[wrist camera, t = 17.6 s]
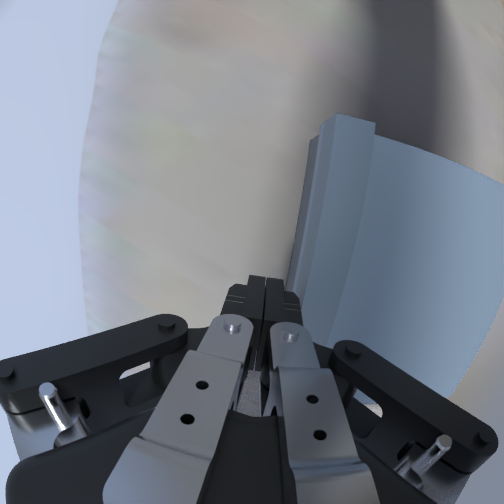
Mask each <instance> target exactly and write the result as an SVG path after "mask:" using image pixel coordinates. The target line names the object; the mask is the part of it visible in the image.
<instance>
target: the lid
mask: <svg viewBox="0 0 504 504" xmlns="http://www.w3.org/2000/svg"><path fill="white" fill-rule="evenodd" d="M375 127H376V123H374V122H370V121H367V120H363V119H359V118H355V117H351V116H347V115H343V114H338V113H336V114H335V115H333V116H332V117H331V118H330V119H328V120H327V121H326V122H324V123H323V124H322V125H321V126H320V134H319V141H318V148H317V155H316V162H315V169H314V175H313V182H312V188H311V194H310V200H309V206H308V212H307V218H306V224H305V229H304V235H303V240H302V245H301V251H300V256H299V261H298V266H297V271H296V276H295V281H294V286H293V291H292V292H294V293H295V294H296V295H297V296H298V297H299V300H300V307H301V313H302V319H303V326H304V327H305V328H306V329H307V330H308V331H309V332H310V335H311V338H312V341H313V342H315V343H317V344H319V345H322V346H325V347H328V348H332V349H333V347H334V345H335V343H337V342H338V341H341V340H353V341H357V342H360V343H362V344H363V345H365V346H367V347H368V348H370V349H371V350H373V351H374V352H376V353H377V354H379V355H380V356H382V357H383V358H385V359H386V360H388V361H389V362H391V363H392V364H394V365H395V366H397V367H398V368H400V369H401V370H403V371H404V372H406V373H407V374H409V375H411V376H412V377H414V378H415V379H417V380H418V381H420V382H421V383H423V384H424V385H426V386H427V387H429V388H431V389H432V390H434V391H435V392H437V393H438V394H440V395H441V396H443V397H450V396H451V395H452V393H453V392H454V390H455V388H456V387H457V385H458V384H459V382H460V381H461V379H462V378H463V376H464V375H465V373H466V371H467V370H468V368H469V366H470V364H471V363H472V361H473V359H474V357H475V355H476V354H477V352H478V350H479V348H480V346H481V345H482V343H483V341H484V339H485V337H486V335H487V333H488V330H489V329H490V326H491V324H492V322H493V320H494V318H495V315H496V313H497V311H498V308H499V306H500V304H501V301H502V298H503V296H504V185H503V184H501V183H499V182H497V181H495V180H493V179H491V178H489V177H487V176H485V175H483V174H481V173H479V172H477V171H474V170H472V169H470V168H468V167H466V166H463V165H461V164H459V163H456V162H454V161H451V160H449V159H446V158H444V157H441V156H439V155H436V154H433V153H431V152H428V151H425V150H422V149H419V148H417V147H414V146H411V145H408V144H404V143H401V142H398V141H395V140H392V139H388V138H385V137H381V136H378V135H375ZM354 398H355V399H357V400H358V401H359V402H361V403H362V404H377V403H376V402H375V401H373V400H372V399H371V398H369V397H368V396H367V395H365V394H364V393H363V392H361V391H360V390H359V389H357V391H356V393H355V395H354Z"/></svg>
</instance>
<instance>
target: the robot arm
mask: <svg viewBox="0 0 504 504" xmlns="http://www.w3.org/2000/svg"><path fill="white" fill-rule="evenodd" d="M265 280H266V277H261V276H254V275H249V279H248V284H247V285H242V284H235V285H233V286H232V287H230V288H229V291H228V293H227V296H226V300H225V302H224V305H223V308H222V311H221V314H220V315H219V316H217V317H215V318H214V319H213V321H212V322H211V324H210V326H209V327H206V328H188V325H187V322H186V321H185V320H184V319H183V318H181V317H179V316H176V315H172V314H160V315H155V316H152V317H149V318H146V319H143V320H140V321H136V322H133V323H130V324H127V325H124V326H120V327H117V328H114V329H111V330H107V331H104V332H101V333H97V334H94V335H91V336H87V337H84V338H80V339H77V340H74V341H70V342H67V343H63V344H60V345H56V346H52V347H49V348H45V349H42V350H38V351H34V352H30V353H27V354H23V355H19V356H16V357H11V358H8V359H4V360H1V361H0V404H1V406H2V408H3V409H4V411H5V412H6V414H7V417H8V421H9V425H10V429H11V433H12V436H13V440H14V443H15V446H16V449H17V453H18V455H19V458H20V462H19V463H18V464H17V465H16V466H15V467H14V468H13V469H12V471H11V472H10V474H9V476H8V479H7V483H6V504H455V502H456V500H457V499H458V497H459V495H460V493H461V492H462V490H463V488H464V486H465V484H466V482H467V481H468V479H469V477H470V475H471V474H472V473H473V472H474V471H475V470H477V469H478V468H479V467H480V466H481V465H482V464H483V463H484V462H485V461H486V460H488V459H489V458H490V457H491V456H492V455H493V454H494V453H495V452H496V450H497V448H498V437H497V435H496V433H495V431H494V430H493V429H492V428H491V427H490V426H489V425H487V424H485V423H484V422H482V421H481V420H479V419H477V418H476V417H474V416H472V415H471V414H470V413H468V412H466V411H465V410H463V409H462V408H460V407H459V406H457V405H455V404H454V403H452V402H450V401H449V400H447V399H446V398H444V397H443V396H441V395H440V394H438V393H437V392H435V391H434V390H432V389H431V388H429V387H427V386H426V385H424V384H423V383H421V382H420V381H418V380H417V379H415V378H414V377H412V376H411V375H409V374H407V373H406V372H404V371H403V370H401V369H400V368H398V367H397V366H395V365H394V364H392V363H391V362H389V361H388V360H386V359H385V358H383V357H382V356H380V355H379V354H377V353H376V352H374V351H373V350H371V349H370V348H368V347H367V346H365V345H363V344H362V343H360V342H357V341H353V340H341V341H338V342H337V343H335V345H334V347H333V349H332V348H328V347H325V346H322V345H319V344H317V343H315V342H313V341H312V338H311V335H310V332H309V331H308V330H307V329H306V328H305V327H304V326H303V319H302V313H301V307H300V300H299V297H298V296H297V295H296V294H295V293H294V292H290V291H284V283H283V280H282V279H275V278H268V277H267V280H266V285H265ZM256 351H257V353H256ZM255 357H256V363H255V371H261V375H260V381H259V385H258V403H259V417H251V416H248V415H245V414H242V413H239V412H237V409H238V405H239V402H240V398H241V394H242V390H243V387H244V381H245V379H246V378H247V375H248V370H253V367H254V362H255ZM149 361H150V368H148V369H145V370H143V371H140V372H138V373H135V374H133V375H130V376H128V377H125V378H122V379H120V380H119V378H120V376H121V375H122V373H123V372H125V371H126V370H129V369H131V368H134V367H136V366H139V365H142V364H144V363H147V362H149ZM357 389H359V390H360V391H361V392H363V393H364V394H365V395H367V396H368V397H369V398H371V399H372V400H373V401H375V402H376V403H377V404H378V405H379V406H380V407H381V409H382V411H383V415H382V417H379V416H378V415H376V414H375V413H374V412H372V411H371V410H370V409H368V408H367V407H366V406H364V405H363V404H362V403H361V402H359V401H358V400H357V399H355V398H354V395H355V393H356V391H357ZM155 407H156V408H155Z"/></svg>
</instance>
